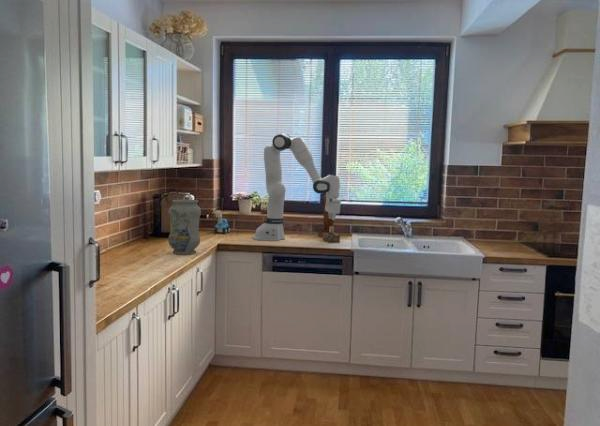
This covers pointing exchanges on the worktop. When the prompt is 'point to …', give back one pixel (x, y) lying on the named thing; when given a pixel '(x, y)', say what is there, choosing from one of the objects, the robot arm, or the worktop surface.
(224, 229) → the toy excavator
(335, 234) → the walnut seat board
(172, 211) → the vase
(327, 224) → the sculpture
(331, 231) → the beech peg
